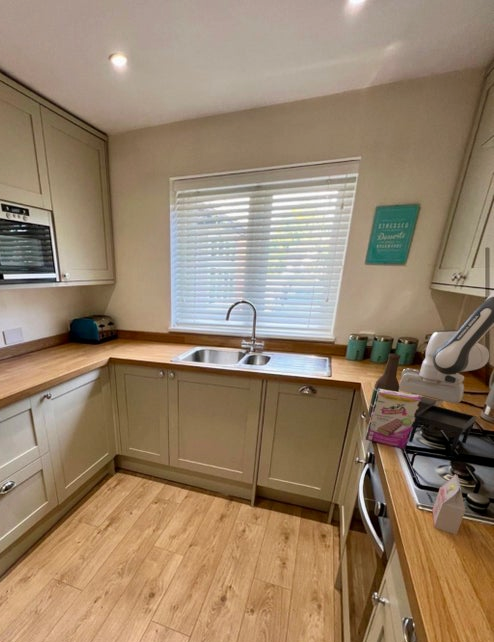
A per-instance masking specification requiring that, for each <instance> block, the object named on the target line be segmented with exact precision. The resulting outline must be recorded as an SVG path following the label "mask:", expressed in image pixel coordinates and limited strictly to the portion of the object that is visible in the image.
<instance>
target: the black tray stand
mask: <svg viewBox="0 0 494 642" xmlns="http://www.w3.org/2000/svg"><path fill="white" fill-rule="evenodd" d="M476 419H477V415H474V414H473V415H472V414H469V413H465V412H460V411H457V410H453V409H450V408H446V407H442V406H439V405H438V406H434V405H430V406H429V407H427V408H425V409H424V410H422V411H421V412H419V413H417V414H416V417H415V420H414V423H413V427H412V430H411V433H410V436H409V440H408V443H413V442H414V438H415V435H416V432H417V428H418V425H419V423H422V424H424V427H426V428H428V429H429V426H432V427H436V428H439V429H443V430H446V431H449V432H451V433H455V435H454V438H453V441H452V444H451V447H450V450H449V452H448V456H450V455H453V456H454V454H455V451H456V448H457V445H458V443H459V440H460V437H461V435H462V434H463V433H464V434H463V437H462V439H461V443H462V444H466V443H467V440H468V437H469V434H470V432H471V429H472V426H473V424H474V423H476Z"/></svg>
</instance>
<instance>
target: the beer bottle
mask: <svg viewBox="0 0 494 642" xmlns="http://www.w3.org/2000/svg"><path fill="white" fill-rule="evenodd" d="M387 357H388V359H387V362H386V365H385V369H384V371H383V374H382V375H381V376H380V377H379V378H378V379H377V380H376V382H375V384H374V387H373V390H372V395H371V398H370V403H369V408H368V412H367V413H368V416H369V419H370V418H371V414H372V411H373V407H374V403H375V399H376V395H377V391H378V389H385V390H390V391H396V392H400V390H399V383H400V381H399V380H398V378H397V374H398V368H399V363H400V359H401V358H402V357H401V354H400V353H399V354H398V353H393V352H392V353H389V354H388V356H387Z"/></svg>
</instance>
